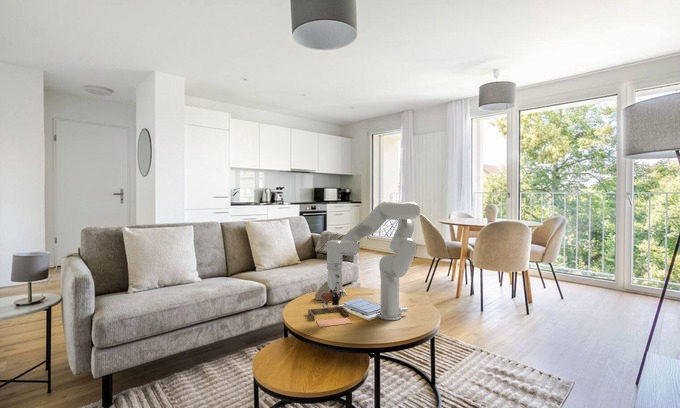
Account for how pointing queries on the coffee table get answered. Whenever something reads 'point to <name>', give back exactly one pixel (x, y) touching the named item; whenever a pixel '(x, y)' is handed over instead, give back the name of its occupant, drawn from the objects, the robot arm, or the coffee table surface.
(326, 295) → the bull figurine
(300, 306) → the coffee table surface
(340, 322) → the mat
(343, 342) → the coffee table surface
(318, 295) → the fossil tooth
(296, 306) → the coffee table surface
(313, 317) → the stall
